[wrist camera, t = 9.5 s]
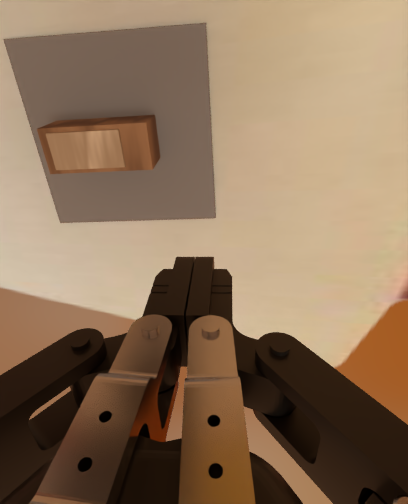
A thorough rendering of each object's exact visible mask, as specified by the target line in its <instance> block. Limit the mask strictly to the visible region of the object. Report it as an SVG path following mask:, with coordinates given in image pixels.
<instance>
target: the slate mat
mask: <svg viewBox="0 0 408 504" xmlns="http://www.w3.org/2000/svg"><path fill="white" fill-rule="evenodd" d="M4 43H5V46H6V49H7V52H8V56H9V59H10V62H11V65H12V69H13V72H14V75H15V78H16V81H17V85H18V88H19V91H20V94H21V98H22V101H23V104H24V107H25V111H26V114H27V117H28V120H29V123H30V127H31V130H32V133H33V136H34V140H35V143H36V146H37V149H38V153H39V156H40V159H41V162H42V165H43V169H44V172H45V175H46V178H47V182H48V185H49V188H50V191H51V195H52V198H53V201H54V204H55V207H56V211H57V214H58V217H59V220H60V223H72V222H105V221H138V220H171V219H204V218H216V213H215V194H214V174H213V154H212V134H211V114H210V94H209V74H208V55H207V35H206V23H200V24H188V25H175V26H163V27H151V28H139V29H126V30H114V31H102V32H90V33H77V34H65V35H53V36H41V37H28V38H16V39H4ZM144 115H155V118H156V126H157V134H158V142H159V149H160V157H161V158H160V159H159V161H158V162H157V164H156V165H155V167H154V168H153V170H135V171H112V172H89V173H66V174H50V172H49V168H48V165H47V162H46V158H45V155H44V152H43V148H42V145H41V142H40V139H39V135H38V132H37V128H40V127H42V126H45V125H47V124H50V123H52V122H55V121H59V120H76V119H93V118H110V117H127V116H144Z"/></svg>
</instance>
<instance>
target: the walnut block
mask: <svg viewBox="0 0 408 504" xmlns="http://www.w3.org/2000/svg"><path fill="white" fill-rule="evenodd" d="M37 132H38V135H39V139H40V142H41V145H42V148H43V152H44V155H45V158H46V162H47V165H48V168H49V172H50V174H66V173H89V172H112V171H135V170H153V168H154V167H155V165H156V164H157V162H158V161H159V159H160V158H161V157H160V149H159V142H158V134H157V126H156V118H155V115H144V116H127V117H110V118H93V119H76V120H59V121H55V122H52V123H50V124H47V125H45V126H42V127H40V128H37Z"/></svg>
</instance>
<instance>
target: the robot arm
mask: <svg viewBox="0 0 408 504" xmlns="http://www.w3.org/2000/svg"><path fill="white" fill-rule="evenodd" d="M181 366H186V367H187V378H186V379H185V384H184V403H183V404H184V405H183V424H182V438H181V439H176V440H172V441H167V442H166V436H167V432H168V428H169V423H170V419H171V415H172V411H173V407H174V403H175V399H176V395H177V391H178V385H179V382H178V378H179V373H180V367H181ZM69 386H70V388H71V391H70V392H68V393H67V394H66V395H64V396H63V397H61V398H60V399H59V400H57V401H56V402H54V403H53V404H52V405H51V406H49V407H47V408H46V409H45V410H43V411H42V412H41V413H39V414H38V415H37V416H35V417H34V418H32V419H30V420H29V418H30V416H31V415H32V414H33V413H34V412H35V410H37V409H38V408H39V407H41V406H42V405H44V404H45V403H47V402H48V401H49V400H51V399H52V398H54V397H55V396H57V395H58V394H59V393H61V392H62V391H63V390H65V389H66V388H68V387H69ZM244 406H245V407H248V408H251V409H253V411H254V414H255V416H256V418H257V419H258V420H259V421H260V422H261V423H262V424H263V426H264V427H265V428H266V429H267V430H268V431H269V432H270V433H271V435H272V436H273V437H274V438H275V439H276V440H277V441H278V442H279V444H280V445H281V446H282V447H283V448H284V449H285V450H286V451H287V452H288V454H289V455H290V456H291V457H292V458H293V459H294V460H295V461H296V463H297V464H298V465H299V466H300V467H301V468H302V469H303V470H304V471H305V473H306V474H307V475H308V476H309V477H310V478H311V479H312V480H313V482H314V483H315V484H316V485H317V486H318V487H319V488H320V489H321V491H322V492H323V493H324V494H325V495H326V496H327V497H328V498H329V499H330V500H331V502H332V503H333V504H408V425H407V424H406V423H405V422H403V421H402V420H401V419H399V418H398V417H397V416H396V415H394V414H393V413H392V412H390V411H389V410H388V409H386V408H385V407H384V406H382V405H381V404H380V403H379V402H377V401H376V400H375V399H373V398H372V397H371V396H370V395H368V394H367V393H365V392H364V391H363V390H362V389H360V388H359V387H358V386H356V385H355V384H354V383H352V382H351V381H350V380H349V379H347V378H346V377H345V376H344V375H342V374H341V373H340V372H338V371H337V370H336V369H334V368H333V367H332V366H331V365H329V364H328V363H327V362H325V361H324V360H323V359H321V358H320V357H319V356H318V355H316V354H315V353H314V352H312V351H311V350H310V349H309V348H307V347H306V346H305V345H303V344H302V343H301V342H299V341H298V340H297V339H295V338H294V337H292V336H290V335H288V334H285V333H279V332H273V333H268V334H265V335H263V336H262V337H260V339H259V340H257V339H253V338H250V337H247V336H245V335H243V334H241V333H240V332H239V331H237V330H236V328H235V327H234V325H233V322H232V276H231V275H230V273H229V272H228V271H227V269H214V257H196V258H195V257H176V260H175V264H174V267H173V269H163V270H162V271H161V272H160V273H159V274H158V275H157V276H156V277H155V280H154V283H153V287H152V289H151V294H150V295H149V298H148V301H147V304H146V307H145V310H144V313H143V316H142V317H141V318H139V319H137V320H136V321H135V322H133V324H132V325H131V327H130V328H129V330H128V332H127V333H125V334H122V335H119V336H115V337H110V338H105V339H104V338H103V335H102V333H101V332H99V331H98V330H96V329H90V328H86V329H80V330H76V331H74V332H72V333H70V334H68V335H67V336H65V337H63V338H62V339H60V340H58V341H57V342H55V343H53V344H52V345H50V346H48V347H47V348H45V349H43V350H42V351H40V352H38V353H37V354H35V355H33V356H32V357H30V358H28V359H27V360H25V361H23V362H22V363H20V364H18V365H17V366H15V367H13V368H12V369H10V370H8V371H7V372H5V373H3V374H2V375H0V504H303V503H302V502H301V500H300V499H299V498H298V496H297V495H296V494H295V493H294V491H293V490H292V489H291V487H290V486H289V485H288V484H287V482H286V481H285V480H284V478H283V477H282V476H281V475H280V474H279V473H278V472H277V471H276V470H275V469H274V468H273V467H272V466H271V465H270V464H269V463H267V462H266V461H265V460H264V459H262V458H260V457H259V456H257V455H256V454H253V453H251V452H249V446H248V438H247V430H246V422H245V413H244Z"/></svg>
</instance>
